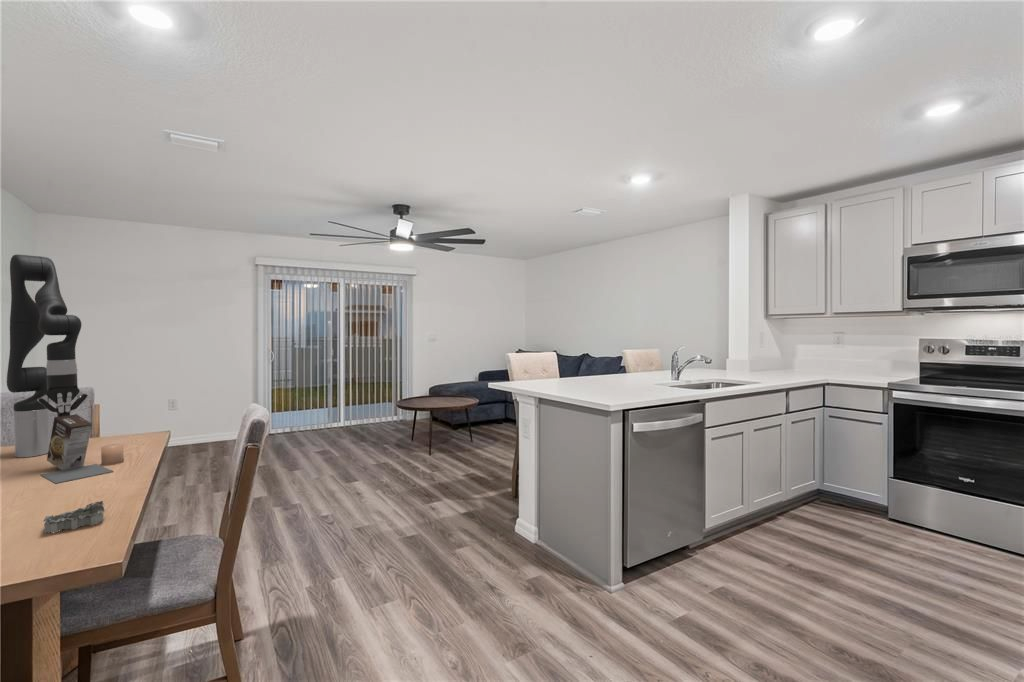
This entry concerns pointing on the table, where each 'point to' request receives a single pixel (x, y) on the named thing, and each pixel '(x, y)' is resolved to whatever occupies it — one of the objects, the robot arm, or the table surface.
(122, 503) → the table surface
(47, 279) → the robot arm
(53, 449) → the coffee box
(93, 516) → the ruined stone wall
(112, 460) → the beige short cylinder
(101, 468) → the mat
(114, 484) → the table surface
